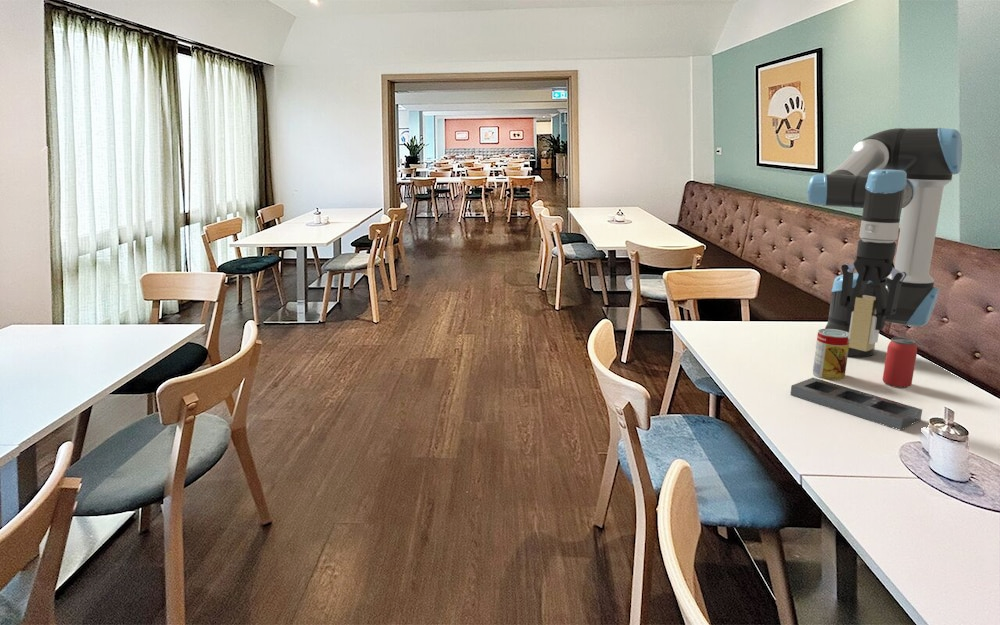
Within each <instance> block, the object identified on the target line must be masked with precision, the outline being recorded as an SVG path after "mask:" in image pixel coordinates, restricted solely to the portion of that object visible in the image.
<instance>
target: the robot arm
mask: <svg viewBox="0 0 1000 625" xmlns="http://www.w3.org/2000/svg"><path fill="white" fill-rule="evenodd" d="M962 158H963V141H962V135H961V133H960V132H959V131H958V130H957V129H954V128H944V127H943V128H942V127H937V128H935V127H934V128H933V127H932V128H930V127H929V128H925V127H924V128H923V127H921V128H919V127H918V128H917V127H916V128H915V127H914V128H909V127H908V128H901V127H900V128H899V127H898V128H897V127H895V128H889V129H885V130H882V131H878V132H876V133H873V134H871V135H869V136H867V137H865V138H863V139H862V140H860V141H859V142H858V143H856V144H855V145H854V146H853V148H852V150H851V152H850V155H849V156H847V158H845V160H844V161H842V162H841V163H840V164H839V165H838V166H837V167H836V168H835V169H834V170H833V171H832V172H831V173H818V174H813V175H812V176H811V177H810V179H809V182H808V185H807V192H806V193H807V201H808V202H809V203H810V204H811V205H816V206H822V207H837V208H838V207H839V208H855V209H857V208H858V209H862V215H861V221H860V228H859V236H858V237H859V238H861V239H859V240H858V243H857V249H856V257H855V260H854V261H853V263H846V264H842V265H841V271H842V274H840V275H837V276H836V277H834V280H833V283H832V284H833V285H832V289H831V296H830V305H829V310H828V311H829V312H828V320H827V323H826V325H825V327H824V329H837V330H842V331H846V332H848V333H849V335H848V339H850V334H851V327H852V320H853V313H854V306H855V299H856V297H858V296H862V295H868V296H873V297H875V298H876V314H875V315H874V316H873V317H872V324H871V330H870V337H869V344H874V343H875V344H876V343H878V340H879V335H880V331H882V330H884V328H885V323H892V324H897V325H898V324H899V325H902V326H903V325H904V326H905V327H908V326H909V327H910V326H911V327H917V328H918V327H924V326H926V325H927V324H928V322H929V321H930V318H931V316H932V314H933V312H934V309H935V307H936V304H937V301H938V297H939V294H940V288H939V287H937V286H934V284H935V279H934V278H933V277H932V276H931V275H930V270H931V264H932V258H933V252H934V247H935V246H934V245H935V240H936V234H937V230H938V229H937V227H938V224H939V216H940V212H941V211H940V209H941V206H942V205H941V204H942V200H943V199H942V198H943V193H944V192H943V191H944V187H945V186H946V185H948V184H950V183H951V182H952V179H953V175H958V174H960V172H961V167H962V160H963V159H962ZM901 214H902V215H901ZM897 239H898V240H897ZM896 240H897V241H898V242H897V243H896V242H895V241H896ZM894 259H895V260H894ZM855 271H856V273H855ZM875 348H876V347H874V349H871V350H869V351H862V350H858V349H854V348H850V347H849V350H848V357H856V358H858V357H859V358H861V357H862V358H863V357H870V356H872V355H874V354H875Z"/></svg>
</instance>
